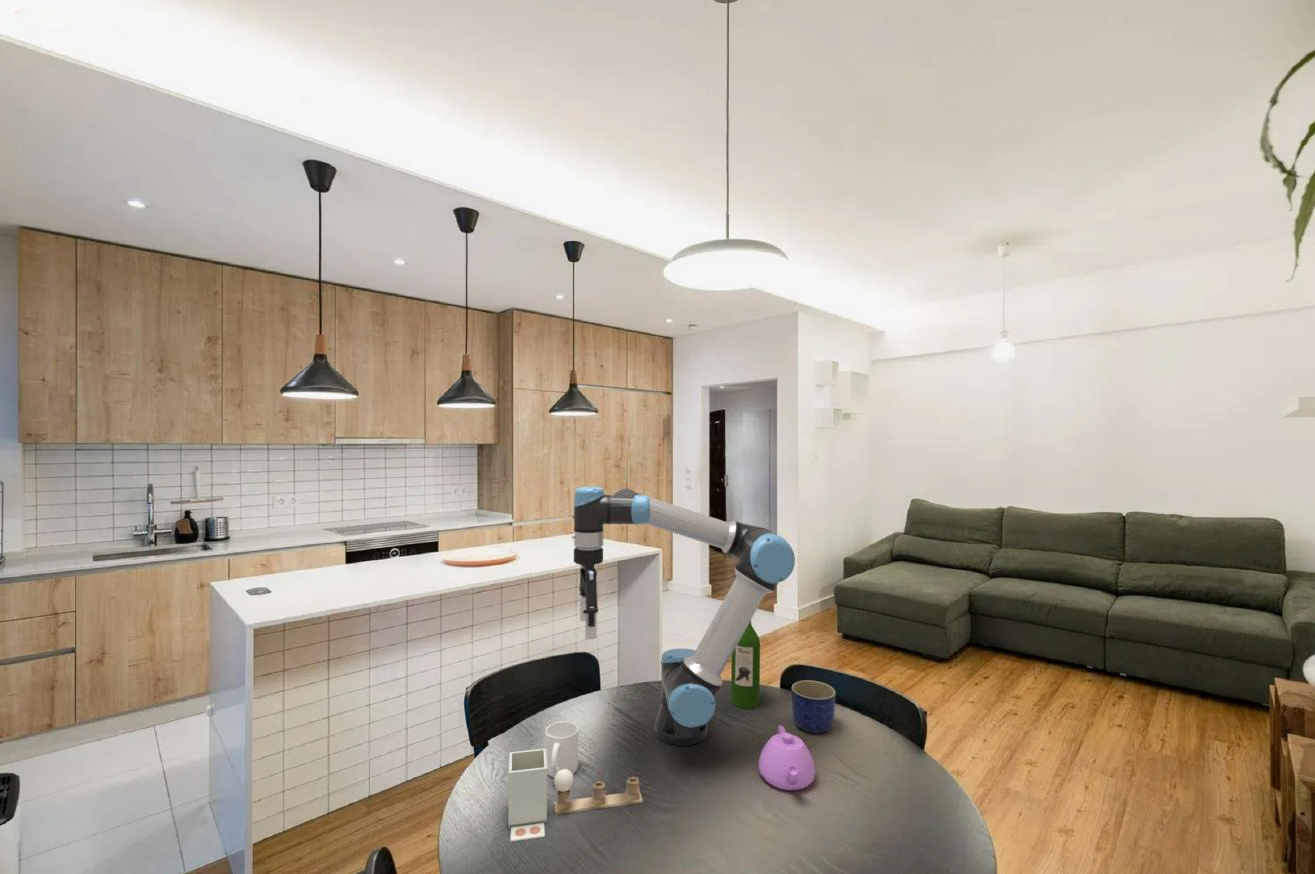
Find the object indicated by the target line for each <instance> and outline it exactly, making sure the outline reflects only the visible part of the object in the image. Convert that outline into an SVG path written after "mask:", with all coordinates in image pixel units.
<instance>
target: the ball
mask: <svg viewBox="0 0 1315 874" xmlns="http://www.w3.org/2000/svg"><path fill="white" fill-rule="evenodd" d="M553 784H554V786H555V789H556V790H557V791H558V790H559V791H567V790H569V789H571V788H572V787H573V785H574V774H572V773H571V772H570V771H569V770H567V769H562V770H560V771H558V772H557V774H556V775H555V778H554V779H553Z"/></svg>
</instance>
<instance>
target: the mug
mask: <svg viewBox="0 0 1315 874" xmlns="http://www.w3.org/2000/svg"><path fill="white" fill-rule="evenodd" d="M544 732H545V733H544V734H545V736H544V745H545V746H544V747H545V748H546V757H547V776H549V777H551V778H555V775H556V774H557V772H558V771H560V770H562V769H567V770H569V771H570V772H571V773H572V774H573V775H574V774H575V773H576V772H577V770H578V767H579V726H578V725H577V724H576V723H574V722H573V721H572V722H571V721H564V720H562V721H557V722H554V723H551V724H549V725H548V726H547V727H546V728H545V730H544ZM545 748H544V749H545Z"/></svg>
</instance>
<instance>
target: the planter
mask: <svg viewBox="0 0 1315 874" xmlns="http://www.w3.org/2000/svg"><path fill="white" fill-rule="evenodd" d="M835 707H836V691H835V689H834V687H832V686H831V685H829V684H827V683H825V682H822V681H818V680H817V681H816V680H809V679H808V680H806V679H805V680H799V681H797V682H794V683H793V684H792V686H791V708H792V709H791V710H792V717H793V718H792V719H793V722H794V724H795V725H796V726H797V727H798V728H799V729H801V730H803V731H804V730H805V732H807V733H811V734H812V733H813V734H823V733H825V732H828V731H830V729H832V727H833V724H834V719H835V712H836V711H835V709H836V708H835Z"/></svg>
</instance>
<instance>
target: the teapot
mask: <svg viewBox="0 0 1315 874" xmlns="http://www.w3.org/2000/svg"><path fill="white" fill-rule="evenodd" d="M786 731H787V730H786V728H785V726H784V725H778V726H777V734H774V735H773V736H771V737H770V738H769V739H768V740H767V742H766V744H765V745H764V747H763V748H762V750H761V752H760V755H759V758H758V759H759V760H758V770H759V771H758V772H759V773H760V775H761V777H762V778H763V779H764V780H765V781H766V782H767V783H768V784H769V785H770V784H771V785H770V786H772V785H773V786H772V787H774V786H775V787H774V788H776V787H777V788H776V789H778V788H780V789H779V790H782V789H784V790H783V791H787V790H797V791H800V790H799V789H802V790H804V789H806V788H807V787H808V786H810V785H811V783H813V781H814V779H815V777H816V769H815V768H816V766H815V763H814V759H813V757H812V755H811V752H810V751H809V749H808V747H807V745H806V744H805V742H804V741H803V740H802V739H801V738H800V737H799V736H797V735H794V734H791V733H789V732H786ZM805 787H806V788H805ZM803 788H804V789H803Z"/></svg>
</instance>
